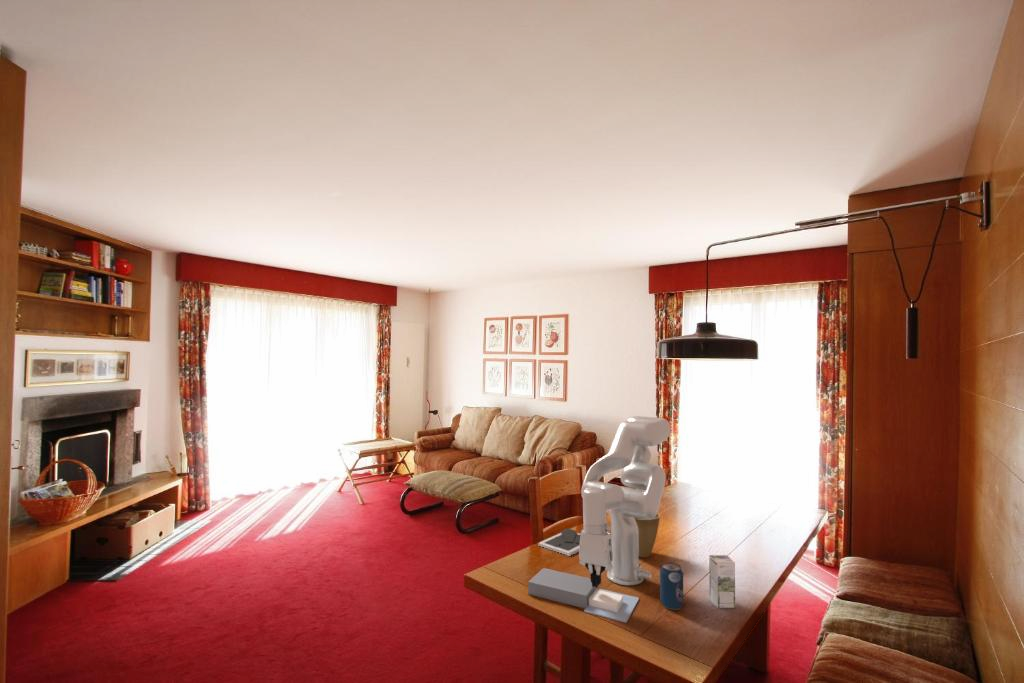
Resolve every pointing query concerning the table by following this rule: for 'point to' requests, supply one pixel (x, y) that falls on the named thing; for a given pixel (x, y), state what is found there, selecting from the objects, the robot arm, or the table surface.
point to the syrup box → (722, 581)
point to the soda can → (671, 586)
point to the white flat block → (606, 600)
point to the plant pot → (647, 535)
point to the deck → (561, 587)
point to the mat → (622, 613)
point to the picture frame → (563, 542)
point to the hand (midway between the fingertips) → (595, 585)
